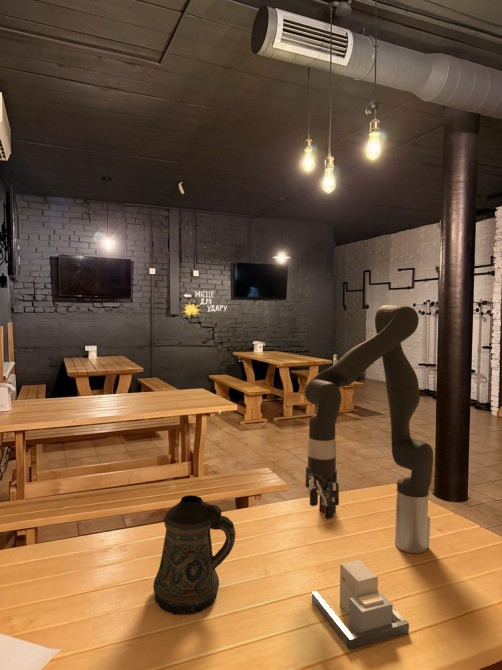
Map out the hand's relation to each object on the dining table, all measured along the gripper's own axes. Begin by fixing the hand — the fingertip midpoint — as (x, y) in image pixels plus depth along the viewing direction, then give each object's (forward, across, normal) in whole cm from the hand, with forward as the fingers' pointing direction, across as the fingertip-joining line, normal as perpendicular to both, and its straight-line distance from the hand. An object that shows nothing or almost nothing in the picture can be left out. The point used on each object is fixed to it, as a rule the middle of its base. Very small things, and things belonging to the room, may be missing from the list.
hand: (321, 511), depth 125 cm
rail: (+17, -18, 0) cm, 25 cm away
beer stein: (+17, +3, +35) cm, 39 cm away
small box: (+18, -17, -1) cm, 25 cm away
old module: (+17, -24, 0) cm, 29 cm away
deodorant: (+18, +34, -22) cm, 44 cm away
